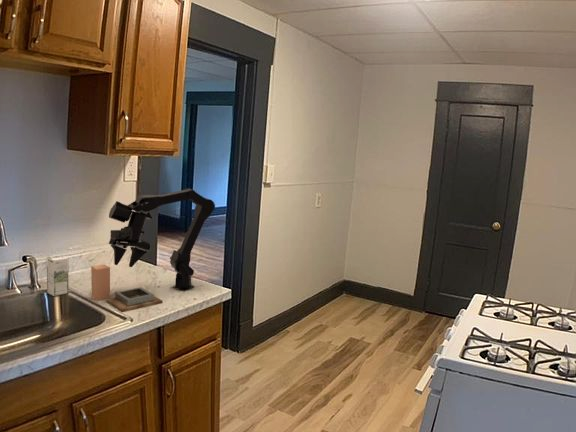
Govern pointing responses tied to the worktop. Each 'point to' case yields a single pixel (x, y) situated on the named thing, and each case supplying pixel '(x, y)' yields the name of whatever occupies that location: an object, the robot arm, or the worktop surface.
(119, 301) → the collar board
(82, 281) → the worktop surface
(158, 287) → the worktop surface
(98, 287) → the terracotta block
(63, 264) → the syrup box
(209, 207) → the robot arm
